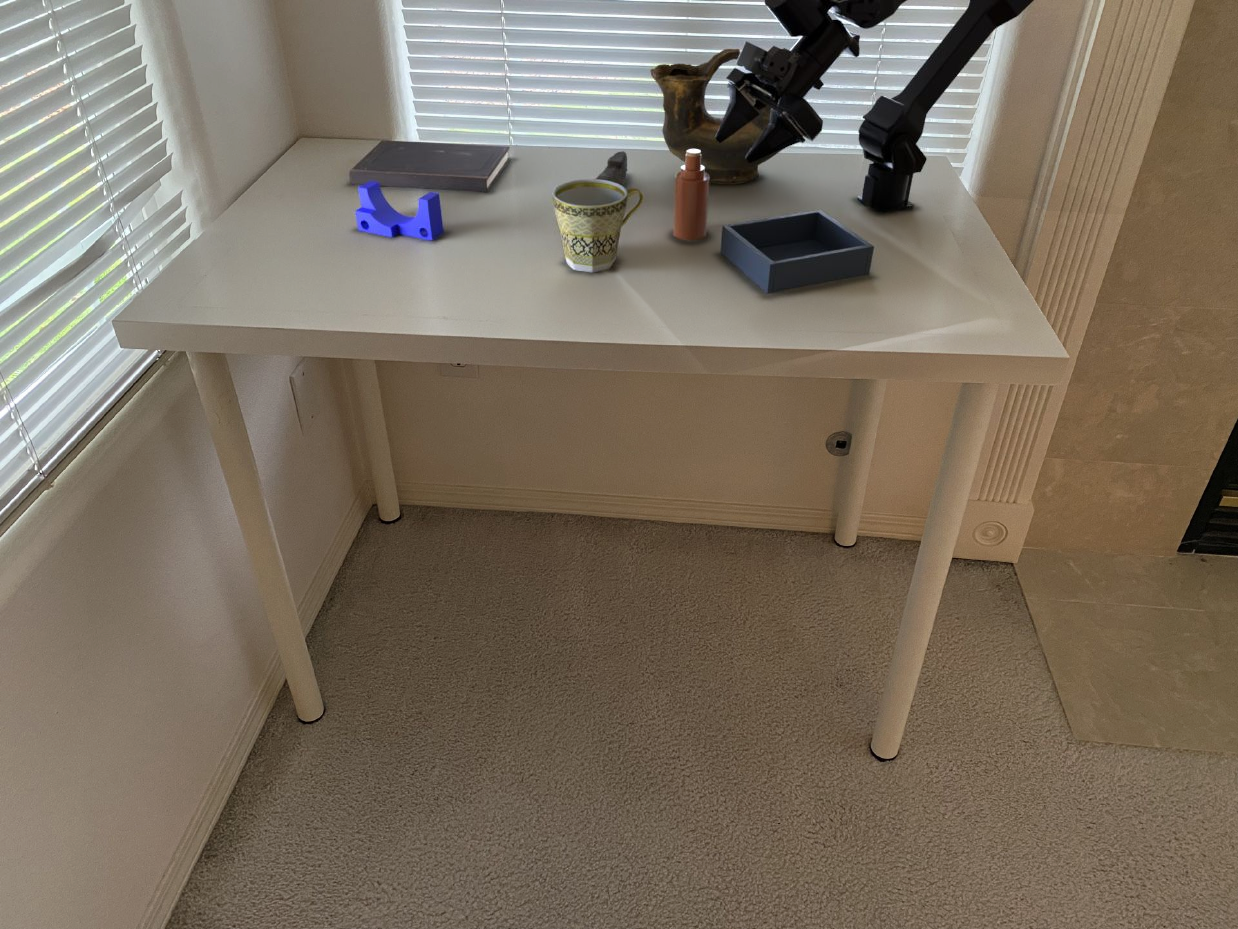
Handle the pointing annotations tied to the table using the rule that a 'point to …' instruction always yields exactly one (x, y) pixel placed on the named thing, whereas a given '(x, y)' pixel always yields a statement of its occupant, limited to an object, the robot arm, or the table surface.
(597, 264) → the ceramic cup
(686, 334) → the table surface
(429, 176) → the hardcover book
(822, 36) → the robot arm
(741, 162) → the pottery vessel
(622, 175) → the hand tool
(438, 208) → the blue mounting bracket
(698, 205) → the bottle
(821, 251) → the bin
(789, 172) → the table surface
